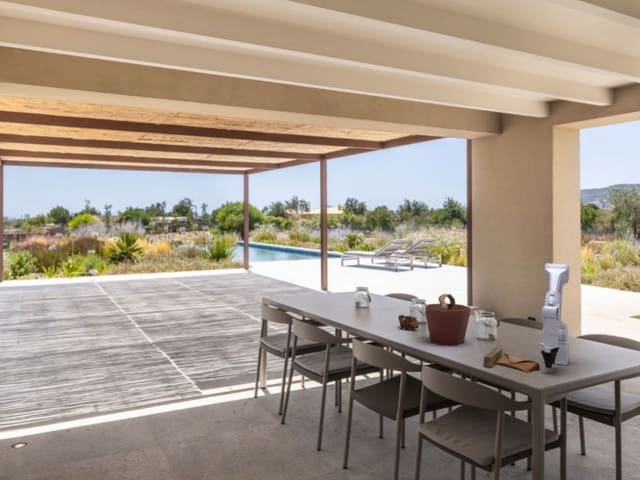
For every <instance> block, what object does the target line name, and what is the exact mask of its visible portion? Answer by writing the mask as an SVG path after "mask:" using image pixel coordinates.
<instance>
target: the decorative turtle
mask: <svg viewBox="0 0 640 480" xmlns="http://www.w3.org/2000/svg"><path fill="white" fill-rule="evenodd" d="M398 322H399V326H400V329H402V330H403V329H405V330H406V331H410V330H409V329H410V328H411V330H414V329H419V326H420V325H419V324H418V320H417V319H416V318H415V317H414V316H411V315H406V316H405V315H404V314H400V315H398Z"/></svg>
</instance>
